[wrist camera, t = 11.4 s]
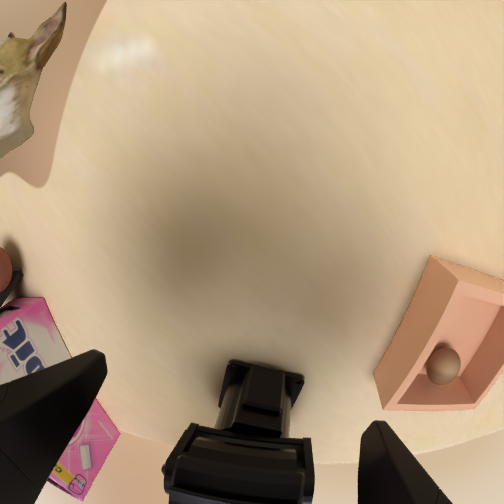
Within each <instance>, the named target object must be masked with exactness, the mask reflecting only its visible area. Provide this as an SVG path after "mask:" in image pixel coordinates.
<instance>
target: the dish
mask: <svg viewBox="0 0 504 504" xmlns="http://www.w3.org/2000/svg"><path fill="white" fill-rule="evenodd" d="M444 347H448V348H452V349H454V350H455V351H456V352H457V353H458V354H459V357H460V360H461V367H460V371H459V373H458V375H457V376H456V378H455V379H454V380H453V381H451V382H450V383H448V384H444V385H438V384H435V383H433V382H432V381H431V380H430V379H429V378H428V376H427V372H426V365H427V362H428V359H429V357H430V356H431V355H432V353H434V352H435V351H436V350H438V349H440V348H444ZM503 371H504V281H503V280H500V279H497V278H495V277H492V276H489V275H486V274H484V273H481V272H478V271H475V270H472V269H470V268H467V267H464V266H461V265H458V264H455V263H452V262H449V261H446V260H443V259H440V258H437V257H434V256H431V255H430V257H429V260H428V263H427V265H426V268H425V270H424V273H423V275H422V278H421V280H420V283H419V285H418V287H417V290H416V292H415V294H414V296H413V299H412V301H411V303H410V305H409V307H408V309H407V311H406V314H405V316H404V318H403V320H402V322H401V324H400V326H399V328H398V330H397V332H396V334H395V335H394V337H393V339H392V341H391V343H390V345H389V347H388V348H387V350H386V352H385V354H384V356H383V357H382V359H381V361H380V363H379V364H378V366H377V368H376V369H375V371H374V373H373V375H374V379H375V382H376V386H377V389H378V393H379V397H380V401H381V405H382V409H383V410H394V411H454V410H470V409H475V408H476V407H477V406H478V405H479V403H480V402H481V401H482V400H483V398H484V397H485V396H486V394H487V393H488V392H489V391H490V389H491V388H492V387H493V385H494V384H495V382H496V381H497V380H498V378H499V377H500V375H501V374H502V372H503Z"/></svg>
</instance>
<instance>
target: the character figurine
mask: <svg viewBox="0 0 504 504" xmlns="http://www.w3.org/2000/svg"><path fill="white" fill-rule="evenodd" d="M22 275H23V274H22V272H21V271H12V264H11V260H10V258H9V256H8V254H7V253H6V252H5V251H4V250H3V249H2V248H1V247H0V307H1V306H2V304H3V303H4V301H5V300H6V298H7V297H8V295H9V294H10V292H11V291H12V289H13V288H14V287H15V285H16V284H17V282H18V281H19V280H20V278H21V277H22Z"/></svg>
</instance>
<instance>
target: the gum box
mask: <svg viewBox="0 0 504 504" xmlns="http://www.w3.org/2000/svg"><path fill="white" fill-rule="evenodd" d="M70 358H71V356H70V354H69V352H68V350H67V348H66V346H65V344H64V342H63V340H62V338H61V336H60V333H59V331H58V330H57V327H56V325H55V323H54V321H53V319H52V317H51V314H50V312H49V310H48V307H47V305H46V302H45V300H44V298H14V299H13V300H11V301H10V302H8V303H7V304H5V305H4V306H3V307H1V308H0V385H1V384H4V383H7V382H10V381H12V380H15V379H18V378H20V377H23V376H26V375H28V374H31V373H34V372H36V371H39V370H41V369H44V368H47V367H49V366H52V365H54V364H57V363H60V362H62V361H65V360H67V359H70ZM119 436H120V432H119V431H118V430H117V428H116V427H115V426H114V424H113V423H112V422H111V420H110V418H109V417H108V416H107V414H106V413H105V411H104V410H103V409H102V407H101V406H100V404H99V403H98V401H97V400H96V398H95V400H94V402H93V404H92V406H91V408H90V410H89V412H88V413H87V415H86V417H85V418H84V420H83V421H82V423H81V424H80V426H79V428H78V429H77V431H76V432H75V434H74V436H73V437H72V439H71V441H70V442H69V444H68V446H67V447H66V449H65V450H64V452H63V454H62V455H61V457H60V459H59V461H58V462H57V464H56V466H55V467H54V469H53V471H52V473H51V474H50V476H49V478H48V479H47V481H48V482H50V483H51V484H53V485H54V486H56V487H57V488H59V489H61V490H62V491H64V492H66V493H68V494H70V495H71V496H73V497H75V498H77V499H79V500H81V501H83V500H84V498H85V496H86V495H87V493H88V491H89V489H90V487H91V486H92V483H93V481H94V479H95V478H96V476H97V474H98V473H99V471H100V469H101V468H102V466H103V464H104V462H105V460H106V458H107V456H108V454H109V452H110V451H111V450H112V448H113V446H114V444H115V443H116V441H117V439H118V437H119Z"/></svg>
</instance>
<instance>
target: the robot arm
mask: <svg viewBox="0 0 504 504" xmlns="http://www.w3.org/2000/svg"><path fill="white" fill-rule="evenodd" d="M233 366H235V367H233ZM106 376H107V364H106V358H105V355H104V353H102V352H100V351H98V350H95V349H93V350H90V351H87V352H85V353H82V354H80V355H77V356H75V357H72V358H70V359H67V360H65V361H62V362H60V363H57V364H54V365H52V366H49V367H47V368H44V369H41V370H39V371H36V372H34V373H31V374H28V375H26V376H23V377H20V378H18V379H15V380H12V381H10V382H7V383H4V384H1V385H0V504H34V503H35V501H36V499H37V498H38V496H39V494H40V492H41V489H42V488H43V486H44V485H45V483H46V481H47V479H48V478H49V476H50V474H51V473H52V471H53V469H54V467H55V466H56V464H57V462H58V461H59V459H60V457H61V455H62V454H63V452H64V450H65V449H66V447H67V446H68V444H69V442H70V441H71V439H72V437H73V436H74V434H75V432H76V431H77V429H78V428H79V426H80V424H81V423H82V421H83V420H84V418H85V417H86V415H87V413H88V412H89V410H90V408H91V406H92V404H93V402H94V400H95V398H96V396H97V394H98V392H99V390H100V388H101V386H102V384H103V382H104V380H105V378H106ZM297 380H300V381H297ZM304 382H305V379H304V377H303V376H301V375H297V374H292V373H287V372H282V371H277V370H273V369H268V368H264V367H259V366H255V365H251V364H247V363H243V362H239V361H235V360H231V361H229V362H228V365H227V368H226V373H225V377H224V382H223V386H222V391H221V395H220V400H219V404H218V406H219V408H221V409H220V412H219V416H218V419H217V422H216V425H215V428H209V427H204V426H200V425H199V424H195V423H191V424H190V425H189V427H188V429H187V430H185V432H184V433H183V435H182V436H181V438H180V440H179V441H178V443H177V444H176V446H175V447H174V449H173V451H172V452H171V454H170V455H169V457H168V458H167V460H166V463H165V464H164V465H163V467H162V473H163V474H164V490H165V492H166V493H167V494H169V504H312V499H313V494H314V484H315V483H314V482H315V475H314V464H313V454H312V445H311V438H303V439H300V438H289V427H290V412H291V409H292V407H293V405H294V403H295V401H296V399H297V397H298V395H299V393H300V391H301V389H302V387H303V385H304ZM358 504H452V502H451V501H450V500H449V499H448V498H447V496H446V495H445V494H444V493H443V492H442V490H441V489H439V487H438V486H437V484H436V483H435V482H434V481H433V479H432V478H431V477H430V476H429V475H428V473H427V472H426V471H425V469H424V468H423V467H422V466H421V465H420V463H419V462H418V461H417V460H416V458H415V457H414V456H413V455H412V453H411V452H410V451H409V450H408V448H407V447H406V446H405V445H404V443H403V442H402V441H401V440H400V438H399V437H398V436H397V435H396V434H395V432H394V431H393V430H392V429H391V427H390V426H389V425H388V424H387V422H385V421H377V420H376V421H373V422H372V423H371V424H370V426H369V427H368V428H367V429H366V430H365V432H364V433H363V434H362V437H361V444H360V457H359V468H358Z"/></svg>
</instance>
